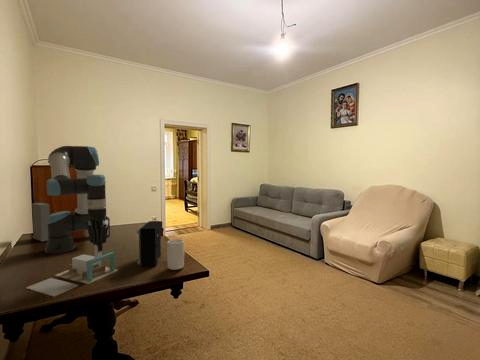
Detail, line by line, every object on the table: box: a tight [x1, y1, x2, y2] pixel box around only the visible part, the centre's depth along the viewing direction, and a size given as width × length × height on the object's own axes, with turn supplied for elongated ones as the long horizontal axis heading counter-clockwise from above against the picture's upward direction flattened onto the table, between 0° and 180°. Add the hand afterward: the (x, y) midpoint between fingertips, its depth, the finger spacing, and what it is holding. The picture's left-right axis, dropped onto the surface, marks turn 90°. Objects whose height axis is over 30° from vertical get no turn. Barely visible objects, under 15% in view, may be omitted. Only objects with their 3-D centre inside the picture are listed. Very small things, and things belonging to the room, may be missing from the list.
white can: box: [166, 238, 185, 271], centre depth 130 cm, size 8×8×14 cm
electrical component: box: [136, 220, 165, 268], centre depth 141 cm, size 18×10×20 cm, turn 5°
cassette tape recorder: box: [31, 202, 51, 243], centre depth 180 cm, size 14×6×25 cm, turn 58°
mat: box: [25, 277, 79, 298], centre depth 110 cm, size 18×10×1 cm, turn 68°
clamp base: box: [54, 263, 119, 285], centre depth 125 cm, size 22×16×4 cm
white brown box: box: [71, 253, 102, 275], centre depth 124 cm, size 13×6×7 cm, turn 68°
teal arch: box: [87, 251, 116, 281], centre depth 121 cm, size 2×13×9 cm, turn 158°
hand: (98, 257), depth 121 cm, fingers closed
